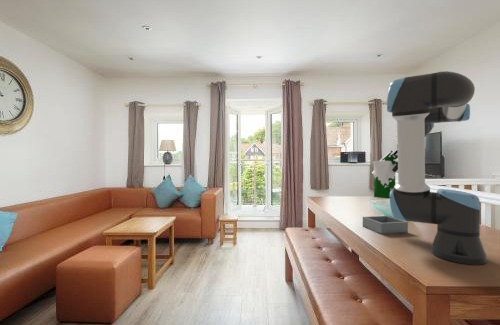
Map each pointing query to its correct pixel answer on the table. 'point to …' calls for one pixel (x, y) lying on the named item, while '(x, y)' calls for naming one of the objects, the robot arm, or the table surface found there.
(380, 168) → the soya milk
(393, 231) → the tray
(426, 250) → the table surface
